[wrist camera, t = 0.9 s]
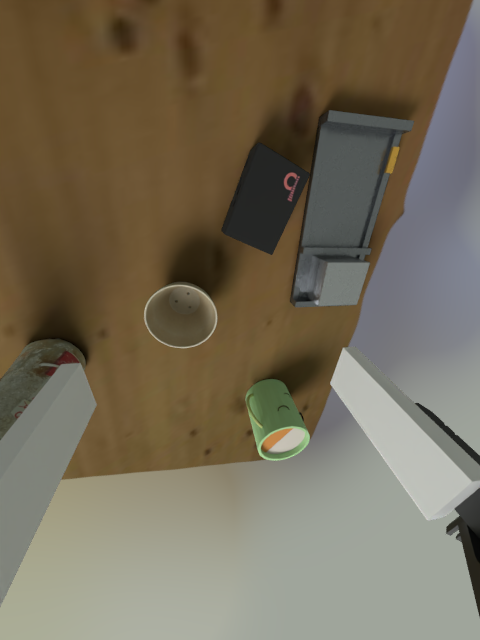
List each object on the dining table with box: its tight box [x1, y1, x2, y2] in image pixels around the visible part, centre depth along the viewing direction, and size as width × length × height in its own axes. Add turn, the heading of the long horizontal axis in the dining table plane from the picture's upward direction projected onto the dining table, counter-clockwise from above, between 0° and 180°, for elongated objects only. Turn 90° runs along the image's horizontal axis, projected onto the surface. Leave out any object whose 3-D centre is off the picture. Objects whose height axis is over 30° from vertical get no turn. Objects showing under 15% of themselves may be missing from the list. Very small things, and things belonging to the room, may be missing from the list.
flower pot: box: [144, 282, 217, 348], centre depth 34 cm, size 10×10×7 cm
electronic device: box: [222, 142, 310, 255], centre depth 30 cm, size 7×11×5 cm
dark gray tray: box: [290, 110, 414, 307], centre depth 33 cm, size 26×12×6 cm, turn 178°
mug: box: [246, 379, 310, 460], centre depth 45 cm, size 13×10×12 cm
